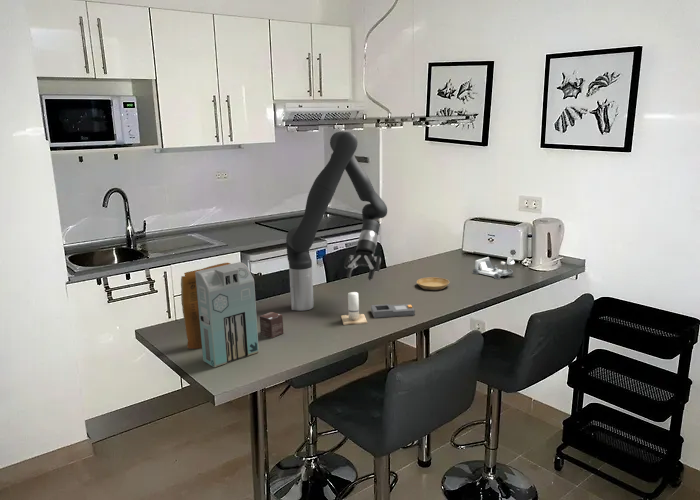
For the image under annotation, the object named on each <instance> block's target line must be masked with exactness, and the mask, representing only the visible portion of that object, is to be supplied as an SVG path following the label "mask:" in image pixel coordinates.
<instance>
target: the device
mask: <svg viewBox="0 0 700 500" xmlns="http://www.w3.org/2000/svg"><path fill="white" fill-rule="evenodd" d="M195 275H196V286H197V297H198V308H199V319H200V330H201V341H202V348H201V350H202V361H203V362H204V363H206V364H208V365H209V366H211V367H213V368H217V367H220V366H222V365H223V366H224V365H226V364H229V363H231V362H235V361H238V360H240V359H242V358H246V357H248V356H252V355H255V354H257V353H259V350H260V348H259V337H258V336H259V335H258V334H259V333H258V321H257V320H258V319H257V306H256V291H255V290H256V288H255V279H254V276H253V275H252V273H251V271H250V270H249V267H248V266H247V265H246V264H245V263H244V262H241V261H238V262H233V263H231V264H228V265H224V266H219V267H214V268H210V269H205V270H200V271H196V272H195Z"/></svg>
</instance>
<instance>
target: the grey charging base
mask: <svg viewBox="0 0 700 500" xmlns="http://www.w3.org/2000/svg"><path fill="white" fill-rule="evenodd" d="M370 312H371V315H372V316H373V319H376V318H391V317H407V316H415V315H416V314H415V313H416V310H415V308H414V307H413V306H412V304H410V303H405V304H404V303H403V304H390V303H386V304H382V303H381V304H370Z"/></svg>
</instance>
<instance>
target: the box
mask: <svg viewBox="0 0 700 500" xmlns="http://www.w3.org/2000/svg"><path fill="white" fill-rule="evenodd" d="M283 316H284V315H283V314H281V313H277V312H273V311H270V312H267V313H265V314H261V315H259V326H260V327H259V328H260V330H259V331H260V335H261V336H263V337H267V338H269V339H273V338H275V337H279V336H280V335H283V334H284V318H283Z"/></svg>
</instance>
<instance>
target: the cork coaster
mask: <svg viewBox="0 0 700 500" xmlns="http://www.w3.org/2000/svg"><path fill="white" fill-rule="evenodd" d="M340 318H341V320H342V321H341V322H342V324H343V325H344V326H346V325H347V326H351V325H361V324H363V325H364V324H368V320H367V318H366V316H365V314H364V313H359V319H358V320H349V314H344V315H340Z"/></svg>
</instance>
